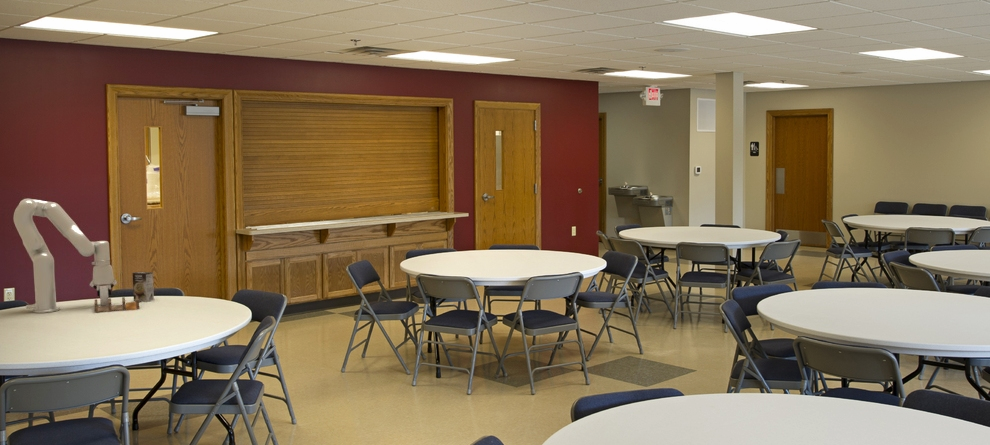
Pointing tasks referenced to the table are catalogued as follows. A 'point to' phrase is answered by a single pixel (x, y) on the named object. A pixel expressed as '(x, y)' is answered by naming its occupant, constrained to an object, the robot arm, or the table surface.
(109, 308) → the rack
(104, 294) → the panel
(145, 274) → the coffee box
